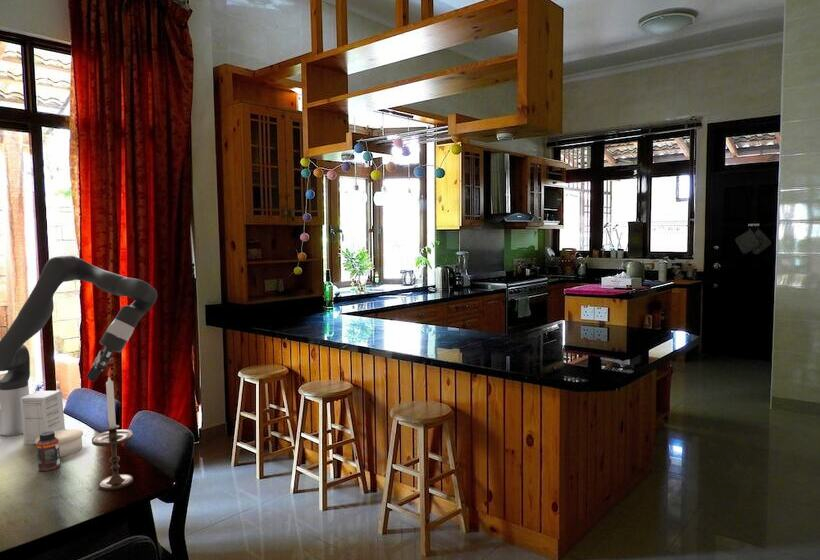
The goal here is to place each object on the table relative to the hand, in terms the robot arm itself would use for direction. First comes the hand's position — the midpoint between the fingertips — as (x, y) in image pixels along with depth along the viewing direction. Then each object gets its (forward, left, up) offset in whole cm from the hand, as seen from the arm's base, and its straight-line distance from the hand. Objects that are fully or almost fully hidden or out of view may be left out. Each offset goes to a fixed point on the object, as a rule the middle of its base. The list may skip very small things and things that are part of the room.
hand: (90, 379), depth 190 cm
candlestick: (+16, -24, -26) cm, 39 cm away
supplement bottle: (-10, -9, -26) cm, 29 cm away
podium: (-14, +6, -26) cm, 30 cm away
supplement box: (-25, +18, -26) cm, 40 cm away
